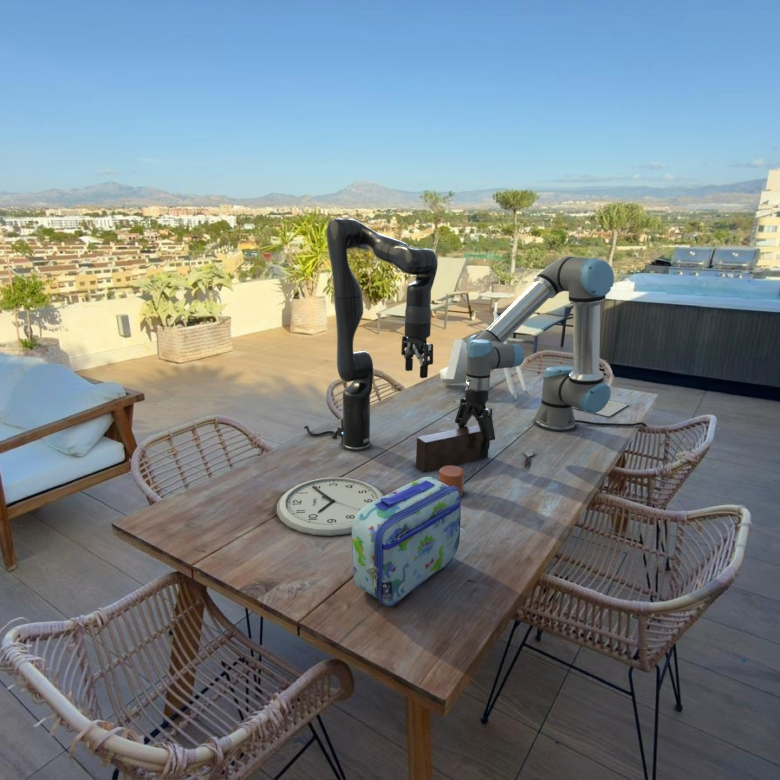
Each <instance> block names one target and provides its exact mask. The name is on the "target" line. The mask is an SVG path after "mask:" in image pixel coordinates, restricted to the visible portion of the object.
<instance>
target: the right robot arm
mask: <svg viewBox="0 0 780 780" xmlns="http://www.w3.org/2000/svg"><path fill="white" fill-rule="evenodd" d="M614 283H615V274H614V269H613V268H612V266H611V264H609V263H608V262H607V261H605V260H604V259H600V258H599V259H598V258H595V257H581V256H580V257H579V256H577V257H575V256H565V257H562V258H560V259H557V260H556V261H554V262H552V263H551V264H549V265H548V266H546V267H545V268H544V269H543V270H541V271H540V272H539V273H538V274H537V275H536V276H535V277H534V278H533V281H532V284H531V285H530V286H529V287H528V288H527V289H526V290H525V291H523V293H521V295H520V296H519V297H518V298H517V299H515V300H514V301H513V302H512V303H511V305H509V306H508V307H507V308H506V309H505V311H503V312H502V313H501V314H500V315H498V316H499V317H498V318H497V319H496V320H495V319H494V321H493V322H492V323H491V324H490V325H489V326H487V328H486V329H485V330H483V332H482V333H481V334H473V335H471V336H470V337H469V338H468V339H467V340H466V349H467V351H468V352H467V370H466V383H465V387H466V388H464V389H465V390H464V397H461V398H460V401H459V407H458V410H457V413H456V416H455V420H454V423H455V424H457V426H458V429H461V428H466V427H468V422H469V421H470V419H471V418H472V417H474V418H475V421H476V422H477V425H479V427H480V431H481V434H482V438H483V439H482V440H481V447H480V459H479V460H483V459H488V458H489V450H490V445H491V441H494V440H496V435H495V428H494V422H493V421H494V420H493V409H492V408H487V406H486V403H487V402H488V401H489V395H490V390H489V389H490V385H491V384H490V381H491V373H492V372H491V369H494V370H497V369H498V370H499V369H503V368H509V369H513V368H516V366H519V365H522V364H523V363H524V360H525V351H524V348H523V347H522V345H520V344H518V343H507V344H504V342H505V341H506V340H508V339H509V338H510V337H511V336H512V335H513V334H514V333H515V332H516V331H517V330H518V329H520V328H521V326H522V325H523V324H524V323H525V322H526V321H527V320H529V318H531V316H533V314H535V313H536V312H537V310H539V309H540V308H541V307H542V306H543V305H544V304H545V303H546V302H547V301H548V300H549V299H554V298H555V297H556V296H557V295H558V294H560V293H562V292H568V302H570V304H572V307H573V311H572V312H573V313H572V315H573V317H572V318H573V320H572V321H573V324H572V325H573V326H572V327H573V328H572V329H573V330H572V331H573V333H572V334H573V335H572V336H573V337H572V338H573V339H572V340H573V341H572V342H573V343H572V344H573V345H572V347H573V349H572V351H573V353H572V354H573V357H572V358H573V360H572V362H573V363H572V366H566V365H565V366H564V365H559V366H558V365H557V366H550V367H547V368H546V369H545V370H544V375H543V381H542V392H541V402H540V405H539V407H538V410H537V411H536V413H535V417H534V424H535V425H536V426H537V427H539V428H542V429H544V430H549V431H556V432H567V431H572V430H574V429H575V428H576V423H577V424H586V425H592V426H606V427H607V426H612V427H613V426H614V427H635V426H643V427H644V428H648V425H647V424H646V423H644V422H642V421H641V422H640V421H639V422H635V423H621V422H620V423H617V422H615V423H614V422H594V421H587V420H579V419H576V418H575V417H576V416H575V413H574V409H576V408H578V409H577V410H580V411H581V412H583V413H588V414H596V412H599V411H600V410H602V409H603V408H604V407H605V405H606V404H607V403H608V401H609V400H610V399H611V395H612V391H611V387H610V386H609V385H608V383H605V380H604V379H605V378H604V377H605V375H604V373H603V371H601V369H600V350H601V349H600V348H601V304H602V303H603V302H604V301H605V300H606V296H607V295H608V294H609V293H610V292H611V290H612V288H613V286H614ZM574 407H575V408H574Z"/></svg>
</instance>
